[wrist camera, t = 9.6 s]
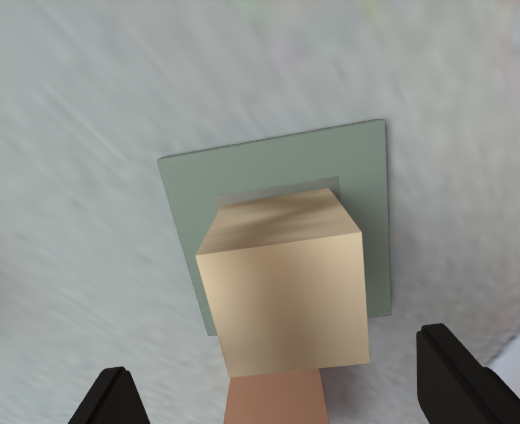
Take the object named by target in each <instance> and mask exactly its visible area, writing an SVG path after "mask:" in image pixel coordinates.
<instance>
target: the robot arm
mask: <svg viewBox="0 0 520 424" xmlns="http://www.w3.org/2000/svg"><path fill="white" fill-rule="evenodd" d="M416 342H417V396H418V401H419V404H420V407H421V409H422V411H423V413H424V414H425V416H426V418H427V420H428V422H429V423H430V424H520V399H519V398H518V397H517V395H515V393H514V392H513V391H512V390H511V389H510V388H509V387H508V386H507V385H506V384H505V383H504V382H503V380H501V378H500V377H499V376H498V375H497V374H496V373H495V372H494V371H493V370H491V369H489V368H488V367H482V366H481V365H480V364H479V362H478V361H477V360H476V359H475V358H474V357H473V356H472V355H471V353H470V352H469V351H468V350H467V349H466V348H465V347H464V346H463V345H462V343H461V342H460V341H459V340H458V339H457V338H456V337H455V336H454V335H453V333H452V332H451V331H450V330H449V329H448V328H447V327H446V326H445V325H444V324H442V323H439V324H431V325H424V326H422V327H421V331H418V332H417V334H416ZM68 424H150V421H149V419H148V416H147V414H146V411H145V409H144V406H143V404H142V401H141V399H140V396H139V393H138V391H137V388H136V386H135V383H134V381H133V378H132V376H131V373H130V372H129V371H126V369H125V368H124V367H114V368H107V369H104V370H103V371H102V372H101V373H100V374H99V376H98V378H97V379H96V381H95V382H94V384H93V385H92V387H91V388H90V390H89V392H88V393H87V395H86V396H85V398H84V399H83V401H82V402H81V404H80V405H79V407H78V409H77V410H76V412H75V413H74V415H73V416H72V418H71V419H70V421H69V422H68Z"/></svg>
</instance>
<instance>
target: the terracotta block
mask: <svg viewBox="0 0 520 424" xmlns="http://www.w3.org/2000/svg"><path fill="white" fill-rule="evenodd" d="M224 424H329V419H328V414H327V409H326V403H325V398H324V392H323V387H322V382H321V376H320V371H319V368H318V369H308V370H298V371H289V372H279V373H269V374H259V375H249V376H239V377H230V384H229V390H228V397H227V404H226V410H225V417H224Z"/></svg>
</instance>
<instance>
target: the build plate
mask: <svg viewBox="0 0 520 424" xmlns="http://www.w3.org/2000/svg"><path fill="white" fill-rule="evenodd" d="M157 164H158V167H159V170H160V174H161V177H162V181H163V184H164V188H165V191H166V194H167V198H168V201H169V205H170V208H171V211H172V215H173V218H174V222H175V225H176V228H177V232H178V235H179V239H180V242H181V245H182V249H183V252H184V256H185V259H186V262H187V266H188V269H189V273H190V276H191V279H192V283H193V286H194V290H195V293H196V297H197V300H198V303H199V307H200V310H201V314H202V317H203V320H204V324H205V327H206V331H207V334H208V336H215V335H217V332H216V328H215V325H214V321H213V318H212V314H211V310H210V307H209V303H208V300H207V296H206V293H205V289H204V285H203V282H202V278H201V275H200V271H199V267H198V264H197V260H196V257H195V255H196V253H197V251H198V249H199V248H200V246H201V244H202V242H203V240H204V238H205V236H206V234H207V232H208V230H209V228H210V226H211V224H212V222H213V221H214V219H215V217H216V215H217V213H218V211H219V209H220V207H221V205H223V204H230V203H236V202H242V201H249V200H255V199H261V198H268V197H274V196H281V195H287V194H293V193H300V192H306V191H312V190H319V189H325V188H329V189H330V190H331V191H332V193H333V194H334V195H335V197H336V198H337V199H338V201H339V202H340V204H341V205H342V206H343V208H344V209H345V210H346V212H347V213H348V214H349V216H350V217H351V218H352V220H353V221H354V222H355V224H356V225H357V226H358V228H359V229H360V231H361V232H362V245H363V261H364V276H365V292H366V308H367V318H370V317H378V316H387V315H391V296H390V264H389V232H388V201H387V169H386V138H385V119H375V120H369V121H363V122H358V123H352V124H346V125H341V126H335V127H329V128H324V129H318V130H313V131H307V132H301V133H296V134H290V135H284V136H279V137H273V138H267V139H262V140H256V141H251V142H245V143H239V144H234V145H228V146H222V147H217V148H211V149H205V150H200V151H194V152H189V153H183V154H177V155H172V156H166V157H162V158H160V159H157Z"/></svg>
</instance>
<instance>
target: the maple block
mask: <svg viewBox="0 0 520 424" xmlns="http://www.w3.org/2000/svg"><path fill="white" fill-rule="evenodd" d="M195 257H196V260H197V264H198V267H199V271H200V275H201V278H202V282H203V285H204V289H205V293H206V296H207V300H208V303H209V307H210V310H211V314H212V318H213V321H214V325H215V328H216V332H217V336H218V339H219V343H220V346H221V350H222V354H223V357H224V361H225V364H226V368H227V371H228V375H229V377H239V376H249V375H259V374H269V373H279V372H289V371H298V370H308V369H318V368H328V367H338V366H348V365H358V364H368V363H370V355H369V339H368V323H367V308H366V292H365V276H364V261H363V245H362V232H361V231H360V229H359V228H358V226H357V225H356V224H355V222H354V221H353V220H352V218H351V217H350V216H349V214H348V213H347V212H346V210H345V209H344V208H343V206H342V205H341V204H340V202H339V201H338V199H337V198H336V197H335V195H334V194H333V193H332V191H331V190H330V189H329V188H325V189H319V190H312V191H306V192H300V193H293V194H287V195H281V196H274V197H268V198H261V199H255V200H249V201H242V202H236V203H230V204H223V205H221V207H220V209H219V211H218V213H217V215H216V217H215V219H214V221H213V222H212V224H211V226H210V228H209V230H208V232H207V234H206V236H205V238H204V240H203V242H202V244H201V246H200V248H199V249H198V251H197V253H196V255H195Z"/></svg>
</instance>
